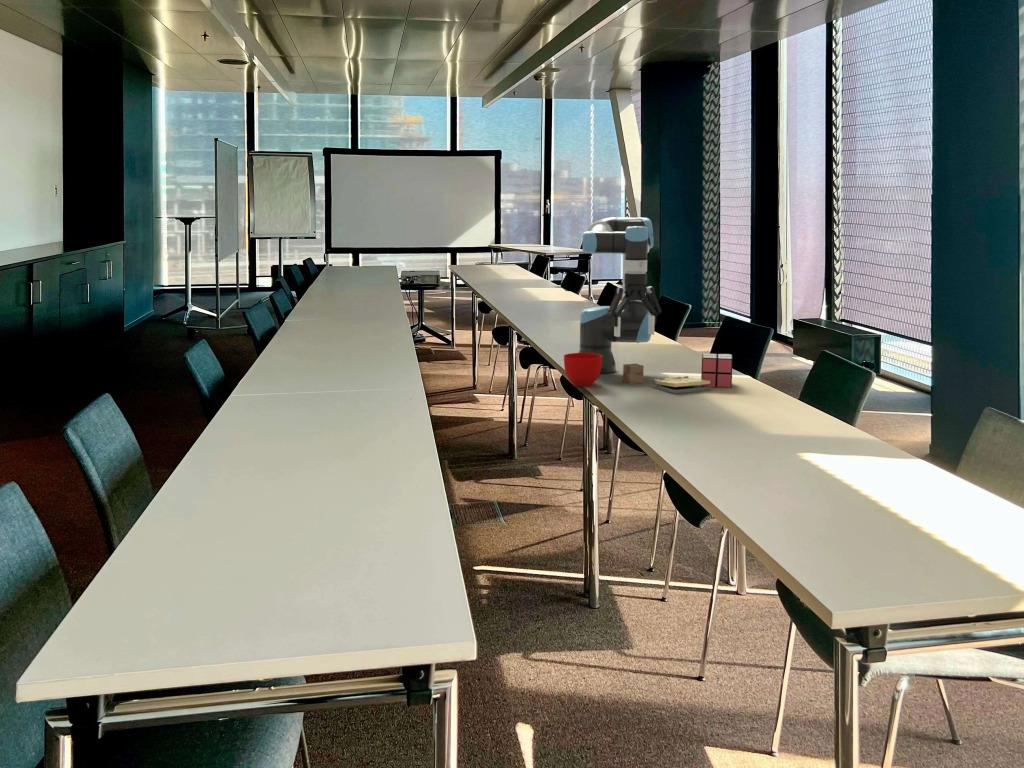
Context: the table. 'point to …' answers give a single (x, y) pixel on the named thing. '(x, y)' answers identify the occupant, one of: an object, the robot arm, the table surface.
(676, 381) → the cream square panel
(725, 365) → the puzzle cube
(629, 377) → the block
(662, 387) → the hinge base
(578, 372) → the ceramic cup
